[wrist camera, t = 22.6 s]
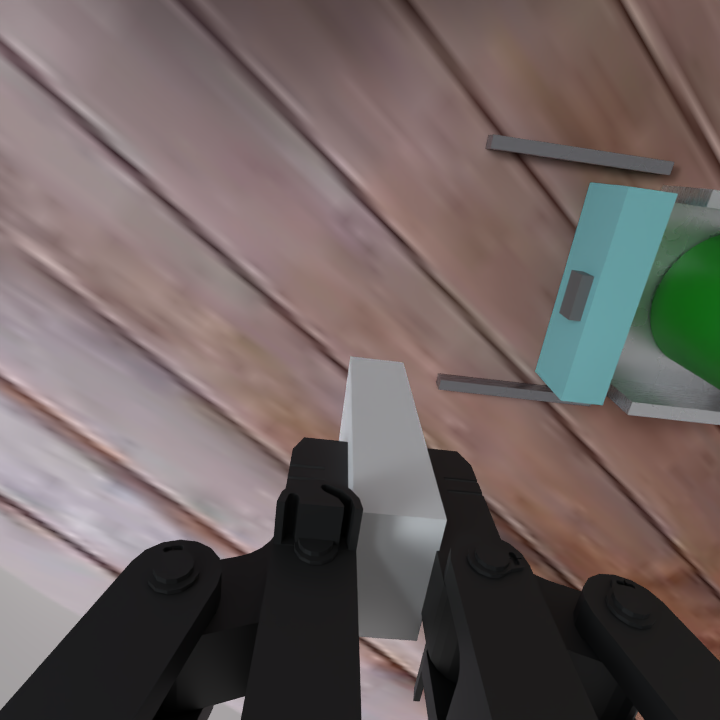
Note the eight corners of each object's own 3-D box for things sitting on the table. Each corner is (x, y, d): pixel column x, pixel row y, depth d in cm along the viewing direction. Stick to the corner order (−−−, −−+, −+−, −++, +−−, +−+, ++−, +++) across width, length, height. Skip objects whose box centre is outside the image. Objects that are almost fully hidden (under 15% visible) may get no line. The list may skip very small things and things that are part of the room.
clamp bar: (578, 180, 34) (616, 184, 29) (632, 188, 34) (677, 193, 29) (525, 370, 39) (549, 399, 34) (572, 375, 39) (602, 405, 34)
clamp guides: (488, 135, 32) (493, 134, 31) (663, 161, 33) (674, 161, 32) (436, 382, 39) (438, 389, 38) (583, 399, 40) (590, 406, 39)
